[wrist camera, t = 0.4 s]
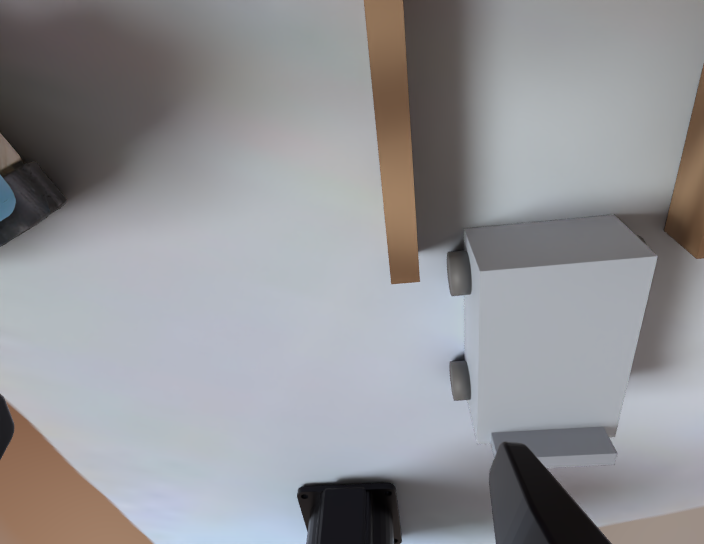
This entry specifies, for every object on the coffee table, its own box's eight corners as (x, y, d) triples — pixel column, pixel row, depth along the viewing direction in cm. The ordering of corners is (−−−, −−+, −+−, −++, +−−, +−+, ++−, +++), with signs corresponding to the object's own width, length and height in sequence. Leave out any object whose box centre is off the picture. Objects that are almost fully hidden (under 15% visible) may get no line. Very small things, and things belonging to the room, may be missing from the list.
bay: (692, 228, 21) (728, 256, 19) (389, 255, 22) (391, 284, 20) (804, -185, 14) (881, -215, 12) (354, -111, 15) (351, -126, 13)
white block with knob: (598, 376, 26) (648, 463, 21) (449, 386, 27) (465, 471, 22) (630, 210, 21) (704, 275, 16) (445, 227, 22) (465, 295, 17)
